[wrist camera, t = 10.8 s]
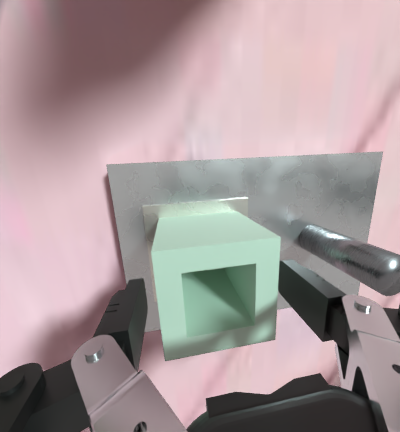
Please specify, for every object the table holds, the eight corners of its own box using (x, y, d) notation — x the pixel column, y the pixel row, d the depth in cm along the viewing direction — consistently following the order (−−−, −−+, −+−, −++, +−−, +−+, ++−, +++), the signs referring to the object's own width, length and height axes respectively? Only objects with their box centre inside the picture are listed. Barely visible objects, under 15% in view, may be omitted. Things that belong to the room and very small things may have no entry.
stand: (364, 153, 17) (522, 138, 9) (344, 287, 20) (448, 355, 13) (112, 165, 14) (45, 157, 6) (137, 320, 17) (112, 436, 10)
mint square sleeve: (236, 211, 15) (280, 237, 9) (237, 279, 16) (275, 339, 10) (159, 218, 14) (150, 251, 8) (166, 289, 15) (165, 361, 9)
